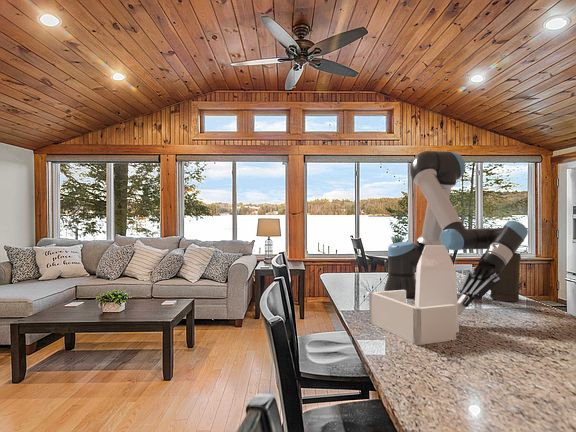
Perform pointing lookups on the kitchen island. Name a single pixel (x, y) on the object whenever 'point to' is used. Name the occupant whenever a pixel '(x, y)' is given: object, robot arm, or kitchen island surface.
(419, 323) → the cubby
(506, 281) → the beer stein
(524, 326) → the kitchen island surface
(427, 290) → the milk
